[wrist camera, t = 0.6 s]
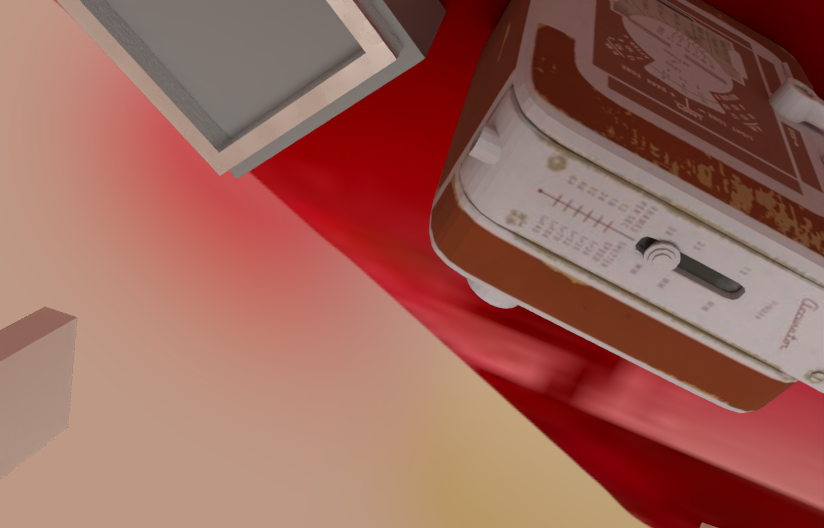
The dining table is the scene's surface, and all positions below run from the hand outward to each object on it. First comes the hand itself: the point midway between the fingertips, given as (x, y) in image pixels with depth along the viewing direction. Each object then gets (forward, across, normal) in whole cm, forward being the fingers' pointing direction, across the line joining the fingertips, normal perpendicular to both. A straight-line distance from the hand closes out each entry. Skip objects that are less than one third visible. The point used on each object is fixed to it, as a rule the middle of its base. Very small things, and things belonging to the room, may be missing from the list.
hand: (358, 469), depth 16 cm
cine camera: (+30, +7, +8) cm, 32 cm away
